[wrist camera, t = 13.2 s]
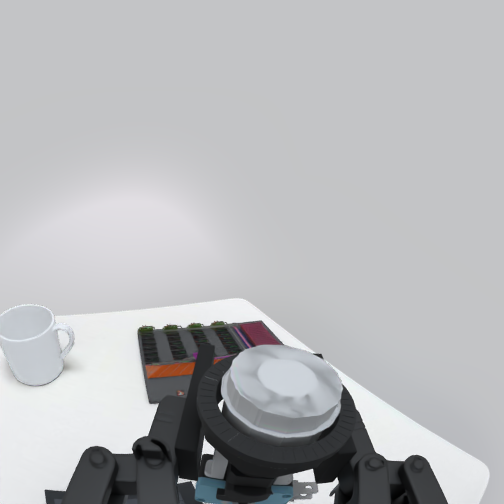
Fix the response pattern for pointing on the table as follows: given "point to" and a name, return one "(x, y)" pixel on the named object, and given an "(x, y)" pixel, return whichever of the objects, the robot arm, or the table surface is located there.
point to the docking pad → (184, 490)
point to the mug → (33, 343)
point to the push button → (269, 424)
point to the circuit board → (192, 351)
